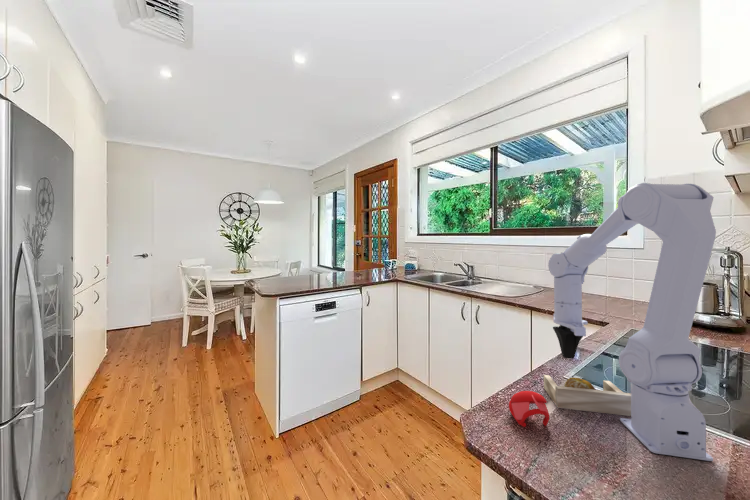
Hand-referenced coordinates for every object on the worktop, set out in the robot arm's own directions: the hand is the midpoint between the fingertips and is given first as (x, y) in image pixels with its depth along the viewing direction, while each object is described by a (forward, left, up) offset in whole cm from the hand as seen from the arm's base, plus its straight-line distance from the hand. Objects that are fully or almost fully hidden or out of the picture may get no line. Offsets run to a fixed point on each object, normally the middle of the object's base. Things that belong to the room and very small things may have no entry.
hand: (568, 357), depth 72 cm
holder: (-9, 0, -6) cm, 11 cm away
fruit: (-7, +2, -7) cm, 10 cm away
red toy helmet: (-20, +14, -6) cm, 25 cm away
